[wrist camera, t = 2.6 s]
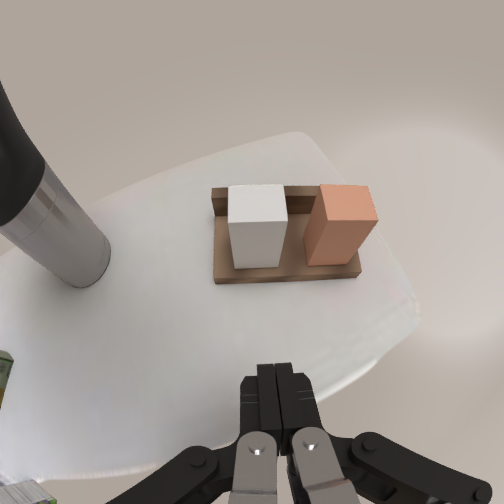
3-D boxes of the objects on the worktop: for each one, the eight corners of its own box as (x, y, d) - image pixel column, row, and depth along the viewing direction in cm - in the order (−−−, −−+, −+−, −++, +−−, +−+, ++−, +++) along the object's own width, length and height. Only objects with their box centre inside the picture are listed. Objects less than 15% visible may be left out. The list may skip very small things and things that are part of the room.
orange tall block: (307, 265, 32) (327, 220, 23) (303, 236, 33) (319, 184, 24) (346, 264, 32) (378, 220, 23) (340, 235, 33) (367, 186, 24)
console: (215, 283, 33) (208, 264, 28) (217, 215, 37) (212, 188, 32) (356, 277, 33) (374, 258, 28) (342, 212, 38) (354, 187, 32)
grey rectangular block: (234, 268, 31) (227, 222, 22) (234, 238, 33) (228, 185, 24) (277, 267, 32) (287, 220, 22) (275, 236, 33) (283, 184, 24)
